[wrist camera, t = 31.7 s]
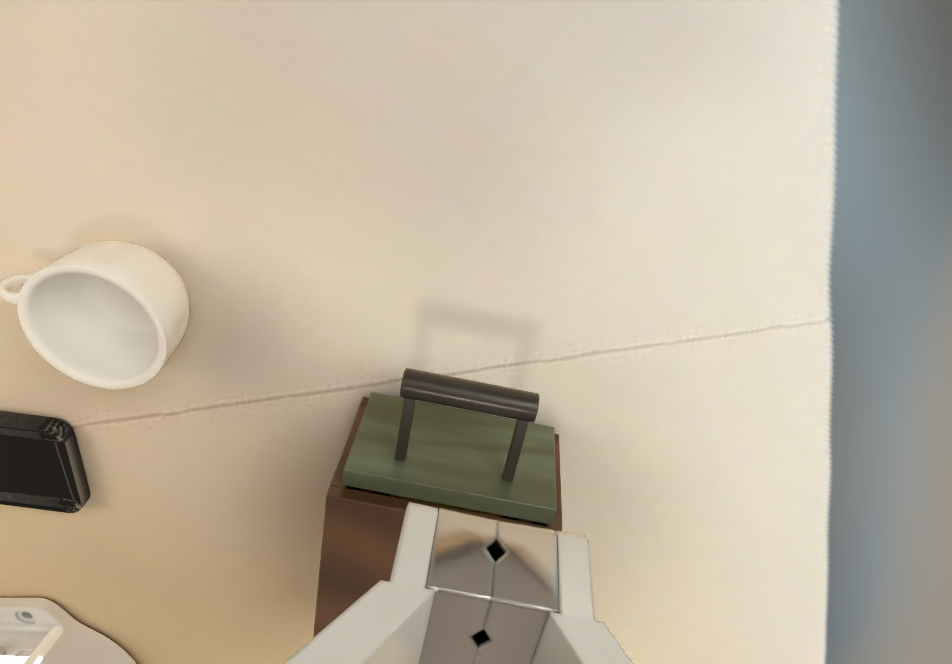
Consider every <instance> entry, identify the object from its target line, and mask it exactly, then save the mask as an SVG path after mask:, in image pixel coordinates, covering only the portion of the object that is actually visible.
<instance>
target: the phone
mask: <svg viewBox="0 0 952 664" xmlns="http://www.w3.org/2000/svg"><path fill="white" fill-rule="evenodd" d="M89 497H90V491H89V487H88V484H87V480H86V476H85V472H84V468H83V464H82V461H81V457H80V453H79V449H78V445H77V441H76V438H75V434H74V431H73V429H72V428H71V427H70V426H69V425H68V424H67V423H65V422H64V421H62V420H60V419H56V418H50V417H42V416H34V415H26V414H18V413H10V412H2V411H0V504H3V505H11V506H19V507H27V508H34V509H42V510H50V511H58V512H66V513H75V512H78V511H79V510H80V509H81V508H82V507H83V505H84V504H85V503H86V501H87V500H88V499H89Z"/></svg>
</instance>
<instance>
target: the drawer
mask: <svg viewBox="0 0 952 664" xmlns="http://www.w3.org/2000/svg"><path fill="white" fill-rule="evenodd" d="M400 396H401V397H404V398H399V397H393V396H388V395H383V394H378V393H371V395H370V398H369V400H368V403H367V406H366V409H365V411H364V414H363V417H362V420H361V423H360V425H359V428H358V431H357V434H356V437H355V439H354V442H353V445H352V448H351V450H350V453H349V456H348V459H347V462H346V464H345V467H344V472H343V481H342V484H343V485H345V486H350V487H355V488H359V491H363V492H369V493H374V494H379V495H384V496H390V495H391V494H392V495H397V496H402V497H408V498H413V499H418V500H423V501H429V502H434V503H439V504H445V505H450V506H455V507H460V508H466V509H471V510H476V511H481V512H487V513H492V514H497V515H502V518H505V519H511V520H516V521H521V522H526V523H532V521H534V522H539V523H544V524H550V525H551V524H552V522H553V519H554V516H555V513H556V474H555V438H554V428H553V427H548V426H543V425H538V424H533V423H529V422H534V421H535V419H536V415H537V411H538V406H539V394H538V393H533V392H527V391H522V390H517V389H512V388H507V387H502V386H497V385H491V384H486V383H481V382H476V381H471V380H466V379H461V378H455V377H450V376H445V375H440V374H435V373H430V372H425V371H419V370H414V369H409V368H406V369H405V371H404V375H403V379H402V384H401V390H400ZM416 400H420V401H425V402H430V403H436V404H441V405H446V406H451V407H456V408H461V409H467V410H472V411H477V412H482V413H487V414H492V415H498V416H503V417H508V418H513V419H517V420H512V419H507V418H502V417H497V416H492V415H486V414H481V413H476V412H471V411H466V410H461V409H455V408H450V407H445V406H440V405H435V404H430V403H424V402H419V401H416Z"/></svg>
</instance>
